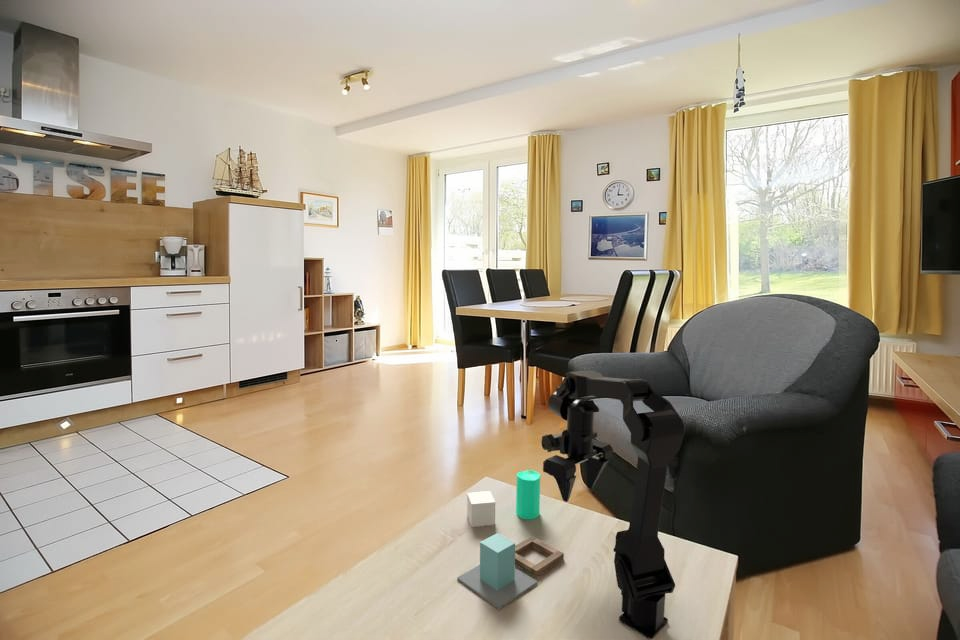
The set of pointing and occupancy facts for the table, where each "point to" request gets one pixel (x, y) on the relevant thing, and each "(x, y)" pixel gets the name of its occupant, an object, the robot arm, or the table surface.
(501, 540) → the teal rectangular block
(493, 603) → the mat
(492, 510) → the white cube
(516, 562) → the frame
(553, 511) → the table surface
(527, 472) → the candle
